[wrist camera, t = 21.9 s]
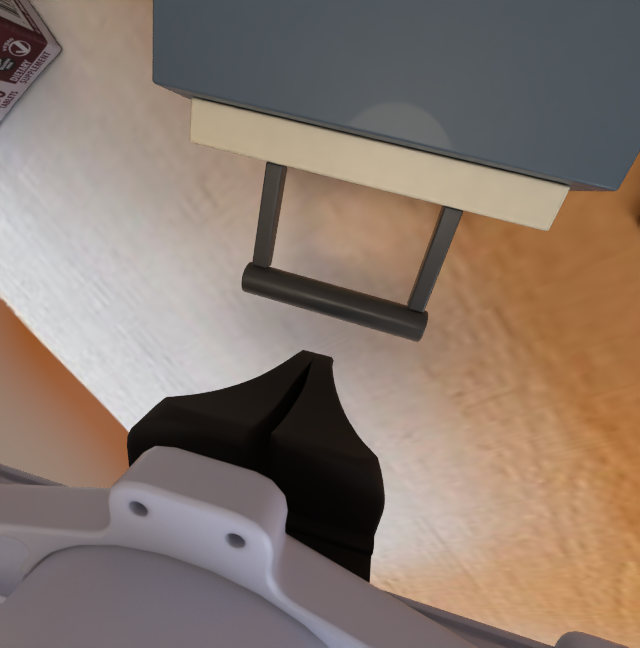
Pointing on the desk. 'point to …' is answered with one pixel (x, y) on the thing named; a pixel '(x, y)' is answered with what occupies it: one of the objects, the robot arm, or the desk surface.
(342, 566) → the robot arm
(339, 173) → the drawer
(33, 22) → the supplement box
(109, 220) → the desk surface
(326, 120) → the cabinet
